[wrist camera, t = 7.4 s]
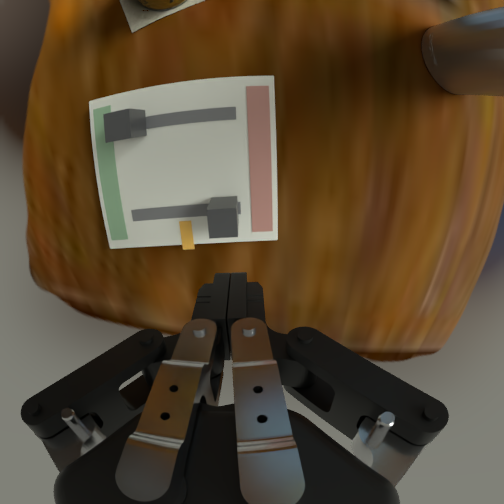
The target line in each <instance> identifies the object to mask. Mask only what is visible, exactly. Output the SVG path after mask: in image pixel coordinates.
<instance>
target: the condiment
mask: <svg viewBox="0 0 504 504" xmlns="http://www.w3.org/2000/svg"><path fill="white" fill-rule="evenodd" d="M202 1H204V0H120V3H121V5H122V8H123V10H124V13H125V15H126V18H127V21H128V23H129V26H130V29H131V31H132V33H133V32H135V31H137V30H138V29H140V28H142V27H144V26H146V25H148V24H150V23H152V22H154V21H156V20H158V19H160V18H163V17H165V16H167V15H170V14H172V13H174V12H177V11H179V10H181V9H184V8H186V7H189V6H191V5H194V4H196V3H199V2H202ZM142 10H149V11H142Z"/></svg>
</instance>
